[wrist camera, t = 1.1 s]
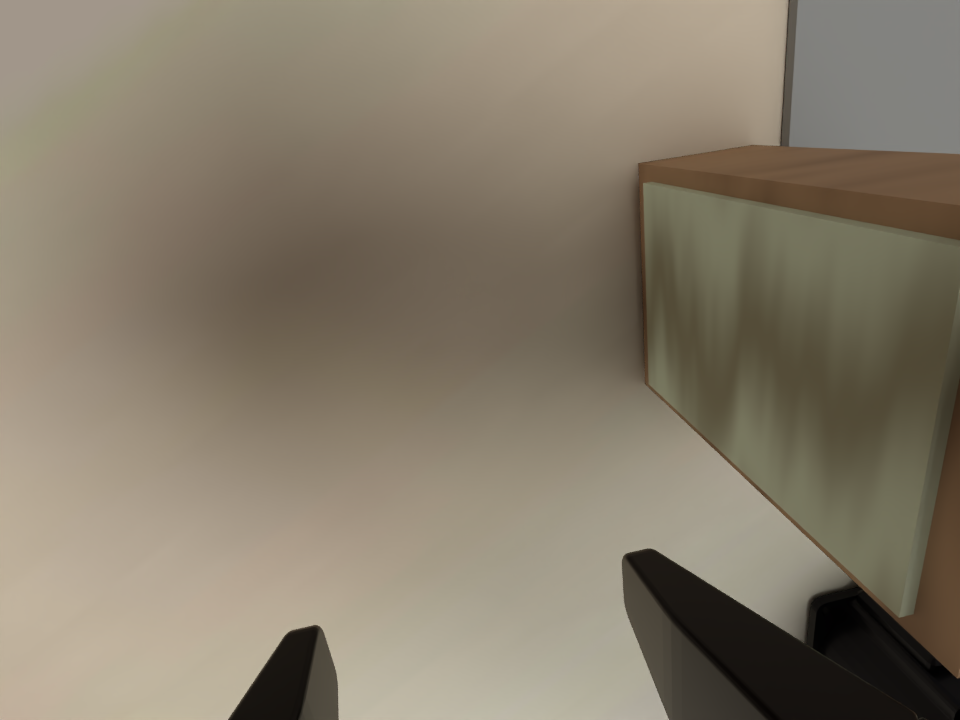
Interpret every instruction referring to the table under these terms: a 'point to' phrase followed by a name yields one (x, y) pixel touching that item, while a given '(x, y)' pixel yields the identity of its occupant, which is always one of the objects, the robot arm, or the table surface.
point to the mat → (873, 75)
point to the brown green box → (822, 350)
